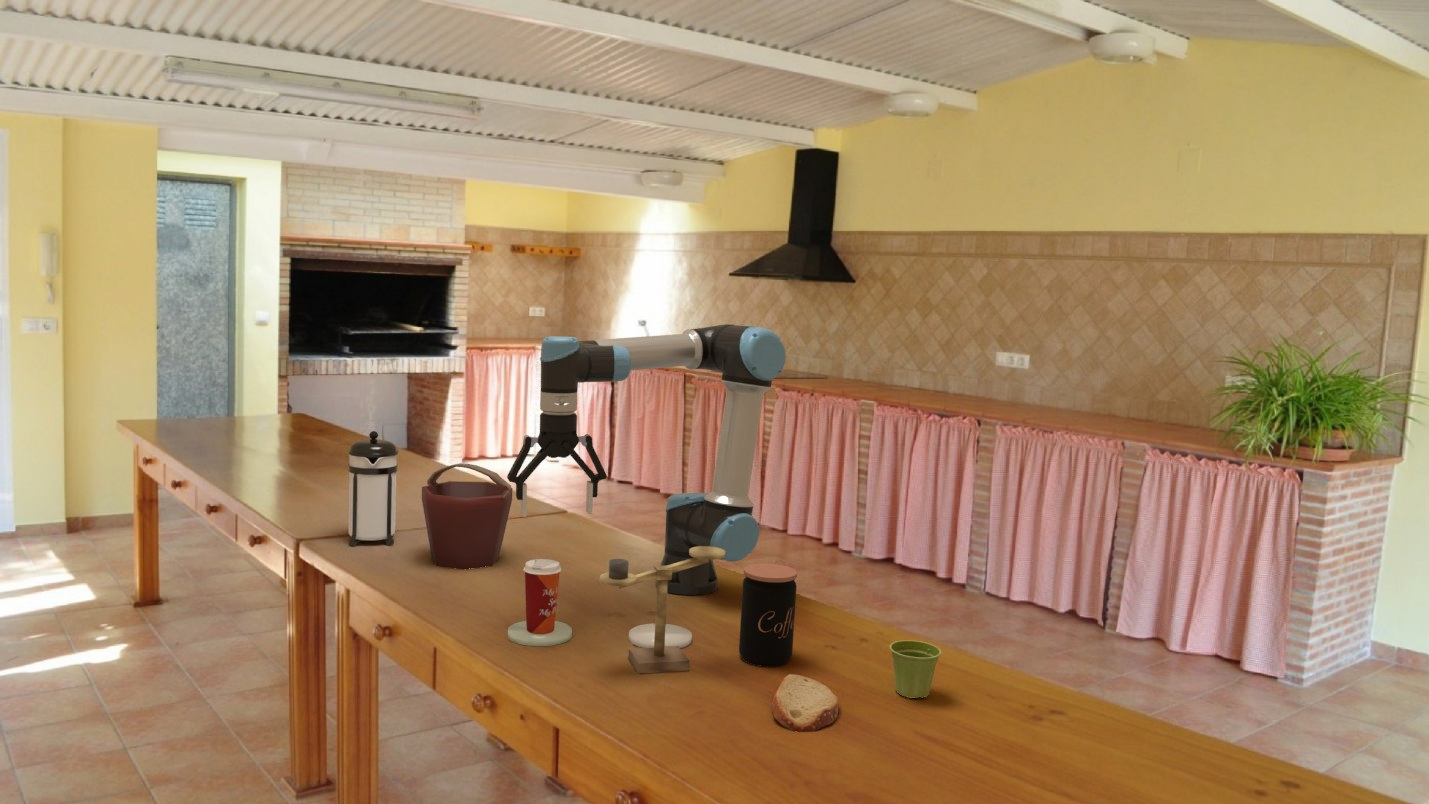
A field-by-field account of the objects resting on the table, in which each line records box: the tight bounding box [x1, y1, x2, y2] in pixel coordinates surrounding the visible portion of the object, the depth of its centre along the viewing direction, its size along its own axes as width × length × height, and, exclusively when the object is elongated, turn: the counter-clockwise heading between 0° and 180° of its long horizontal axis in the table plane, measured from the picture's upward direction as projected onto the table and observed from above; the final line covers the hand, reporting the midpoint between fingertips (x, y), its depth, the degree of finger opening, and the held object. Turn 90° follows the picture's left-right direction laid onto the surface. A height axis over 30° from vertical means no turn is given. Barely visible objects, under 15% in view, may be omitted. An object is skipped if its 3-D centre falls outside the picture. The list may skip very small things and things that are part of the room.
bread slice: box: [770, 673, 840, 733], centre depth 185 cm, size 18×18×4 cm
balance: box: [599, 546, 726, 675], centre depth 200 cm, size 24×8×22 cm, turn 108°
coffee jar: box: [738, 562, 798, 668], centre depth 207 cm, size 11×11×18 cm
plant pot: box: [889, 639, 942, 699], centre depth 193 cm, size 9×9×9 cm
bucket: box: [421, 462, 513, 571], centre depth 266 cm, size 24×22×25 cm
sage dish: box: [507, 620, 573, 647], centre depth 214 cm, size 13×13×1 cm
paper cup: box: [522, 558, 562, 634], centre depth 214 cm, size 8×8×14 cm
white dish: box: [628, 623, 693, 649], centre depth 216 cm, size 13×13×1 cm
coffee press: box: [347, 430, 399, 547], centre depth 281 cm, size 17×16×30 cm
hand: (556, 514), depth 216 cm, fingers open, 13 cm apart
